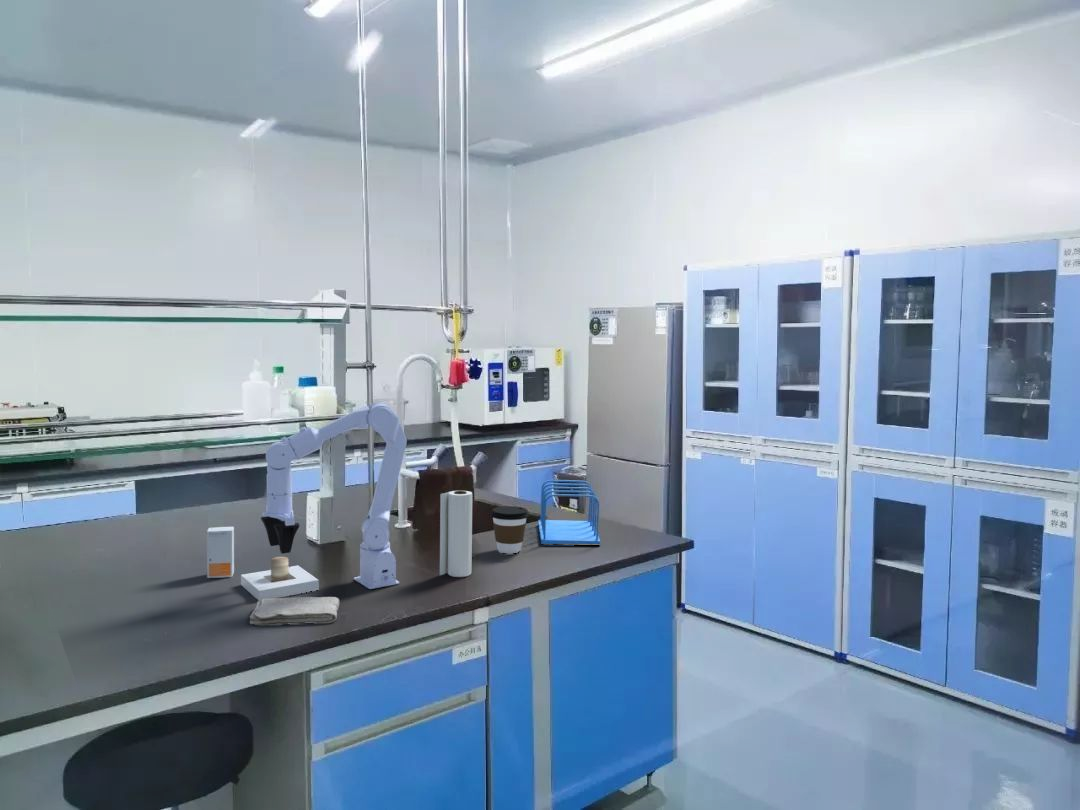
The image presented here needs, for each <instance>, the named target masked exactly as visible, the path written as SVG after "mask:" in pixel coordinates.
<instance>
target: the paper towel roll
mask: <svg viewBox="0 0 1080 810" xmlns="http://www.w3.org/2000/svg"><path fill="white" fill-rule="evenodd" d="M439 500H440V507H439V508H440V509H439V512H440V514H439V515H440V517H439V519H440V520H439V521H440V522H439V523H440V524H439V527H440V528H439V530H440V531H439V576H442V575H445V574H447V575H449V576H451V577H454V578H464V577H468V576H470V575H471V574H472V563H473V562H472V557H473V556H472V555H473V554H472V553H473V551H472V550H473V548H472V547H473V545H472V544H473V543H472V541H473V539H472V538H473V492H472V491H469V490H468V491H467V490H452V491H448V492H447V491H446V492H445V493H440V499H439Z"/></svg>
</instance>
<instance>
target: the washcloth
mask: <svg viewBox="0 0 1080 810" xmlns="http://www.w3.org/2000/svg"><path fill="white" fill-rule="evenodd" d="M339 607H340V599H339V598H338V597H336V596H320V597H319V596H318V597H317V596H315V597H314V596H303V597H300V596H299V597H298V596H297V597H280V598H270V599H269V598H265V599H262V601H258V600H257V602H256V606H255V608H254V610H253V611H252V613H251V614H250V616H249V624H250V625H252V624H254V625H253V626H255V625H256V626H283V625H282V624H288V623H305V622H319V623H318V624H331V623H334V622H335V621H336V620H337V618H338V610H339Z"/></svg>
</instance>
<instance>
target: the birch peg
mask: <svg viewBox="0 0 1080 810" xmlns="http://www.w3.org/2000/svg"><path fill="white" fill-rule="evenodd" d="M289 567H290V566H289V557H287V556H276V557H273V558H271V559H270V570H271V583H274V582H279V581H285V580H289Z"/></svg>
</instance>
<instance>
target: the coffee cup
mask: <svg viewBox="0 0 1080 810" xmlns="http://www.w3.org/2000/svg"><path fill="white" fill-rule="evenodd" d="M529 516H530V513H529V512H528V509H527V508H525V507H521V506H514V505H505V506H497V507H494V508H493V509H492V510H491V512H490V517H491V518H492V520H493V522H492V525H493V531H494V538H495V542H496V549H497V551H498V552H499V553H500V552H501V553H500V554H502V553H517V552H519V551H520V552H521V550H522V544H523V542H524V538H525V532H526V525H527V518H529ZM520 552H519V553H520ZM517 554H518V553H517Z"/></svg>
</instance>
